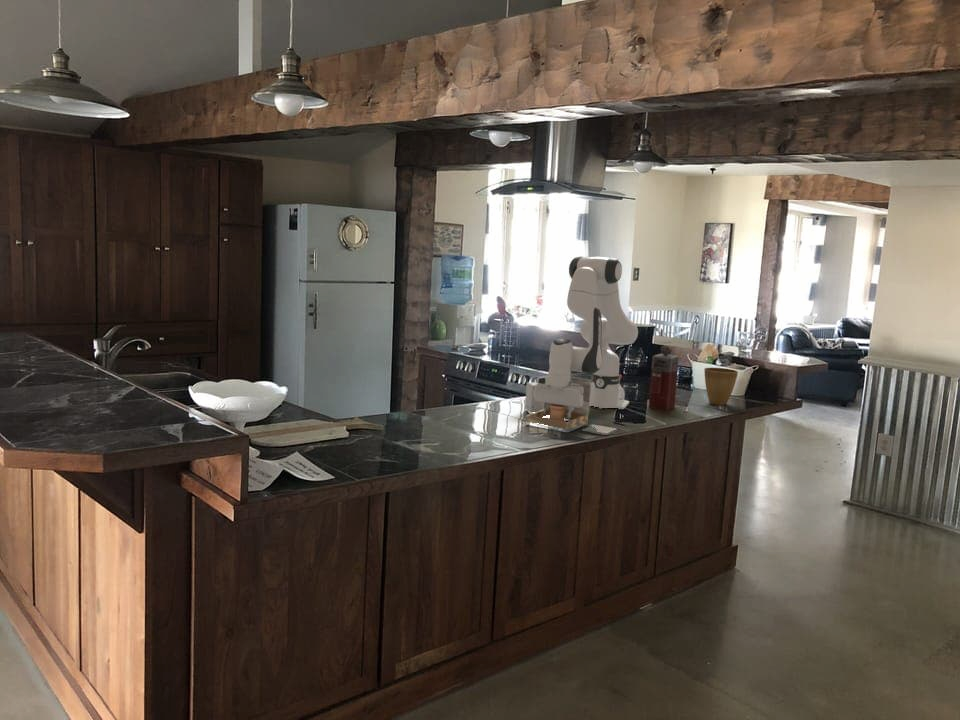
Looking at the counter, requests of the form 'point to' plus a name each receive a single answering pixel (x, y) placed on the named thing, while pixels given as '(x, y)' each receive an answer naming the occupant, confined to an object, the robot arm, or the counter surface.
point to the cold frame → (567, 410)
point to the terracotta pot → (557, 412)
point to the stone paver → (603, 428)
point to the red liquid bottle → (663, 380)
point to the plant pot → (719, 384)
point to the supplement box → (530, 402)
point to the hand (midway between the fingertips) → (557, 415)
